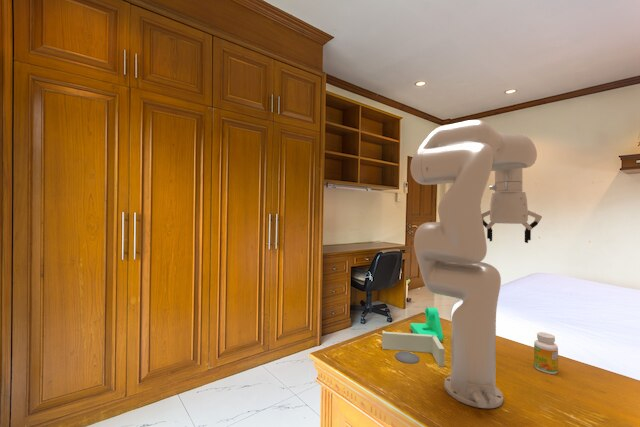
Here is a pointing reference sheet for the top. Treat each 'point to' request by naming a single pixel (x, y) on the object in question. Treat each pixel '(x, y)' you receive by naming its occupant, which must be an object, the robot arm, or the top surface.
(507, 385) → the top surface
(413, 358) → the pad
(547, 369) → the supplement bottle
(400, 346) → the corner walls
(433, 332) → the camera mount
